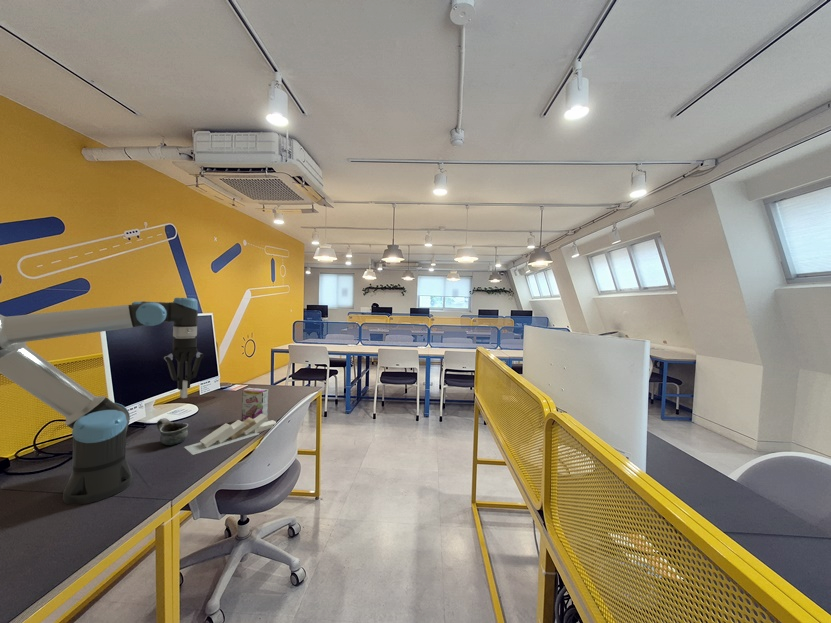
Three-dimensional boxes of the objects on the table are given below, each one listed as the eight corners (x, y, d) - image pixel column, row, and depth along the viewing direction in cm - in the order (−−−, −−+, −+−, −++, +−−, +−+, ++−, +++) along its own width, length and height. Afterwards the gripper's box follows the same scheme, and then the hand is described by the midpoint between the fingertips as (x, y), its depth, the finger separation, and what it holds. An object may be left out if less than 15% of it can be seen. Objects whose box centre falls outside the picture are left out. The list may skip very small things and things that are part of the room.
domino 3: (244, 431, 137) (266, 416, 145) (239, 428, 140) (261, 413, 148) (246, 435, 138) (268, 419, 146) (240, 432, 141) (263, 416, 149)
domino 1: (204, 444, 125) (231, 425, 133) (199, 440, 128) (226, 423, 136) (206, 447, 125) (233, 429, 134) (201, 444, 128) (228, 426, 136)
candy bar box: (240, 422, 153) (241, 390, 153) (247, 418, 158) (248, 387, 158) (262, 424, 152) (263, 391, 152) (267, 420, 157) (268, 388, 157)
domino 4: (255, 428, 141) (278, 422, 150) (250, 425, 144) (272, 420, 153) (255, 432, 141) (277, 426, 150) (249, 429, 144) (272, 424, 153)
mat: (192, 455, 119) (192, 454, 119) (183, 448, 125) (183, 447, 125) (259, 434, 140) (259, 433, 140) (249, 428, 146) (249, 428, 146)
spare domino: (230, 436, 133) (254, 419, 141) (225, 433, 136) (249, 417, 144) (232, 440, 133) (256, 423, 141) (227, 436, 136) (250, 420, 144)
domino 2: (218, 439, 129) (243, 422, 137) (213, 436, 132) (238, 419, 140) (220, 443, 130) (245, 425, 138) (215, 440, 133) (240, 423, 141)
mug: (176, 449, 124) (176, 424, 124) (145, 447, 124) (145, 423, 124) (193, 438, 134) (194, 416, 134) (164, 437, 134) (165, 414, 134)
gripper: (167, 339, 112) (166, 403, 113) (208, 337, 123) (206, 395, 123) (161, 337, 117) (159, 398, 117) (200, 335, 127) (199, 391, 128)
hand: (183, 397), depth 120 cm, fingers closed
